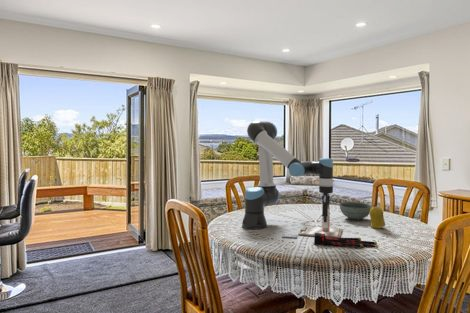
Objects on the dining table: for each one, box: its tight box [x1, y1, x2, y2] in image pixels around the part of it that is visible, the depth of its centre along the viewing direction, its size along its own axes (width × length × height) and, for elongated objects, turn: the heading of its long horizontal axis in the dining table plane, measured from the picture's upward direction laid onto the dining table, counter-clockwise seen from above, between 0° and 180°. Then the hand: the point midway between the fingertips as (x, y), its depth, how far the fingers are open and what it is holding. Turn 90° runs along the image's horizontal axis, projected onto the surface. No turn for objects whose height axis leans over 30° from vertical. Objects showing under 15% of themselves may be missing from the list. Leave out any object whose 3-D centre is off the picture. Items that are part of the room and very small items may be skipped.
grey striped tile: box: [281, 233, 298, 239], centre depth 187 cm, size 8×6×1 cm
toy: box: [313, 233, 378, 249], centre depth 170 cm, size 8×5×30 cm
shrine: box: [368, 204, 386, 230], centre depth 202 cm, size 12×8×15 cm
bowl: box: [338, 201, 373, 222], centre depth 227 cm, size 21×21×10 cm
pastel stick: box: [321, 204, 331, 231], centre depth 194 cm, size 4×4×14 cm
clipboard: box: [297, 225, 343, 238], centre depth 194 cm, size 22×20×2 cm
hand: (325, 226), depth 194 cm, fingers closed on pastel stick, 4 cm apart
